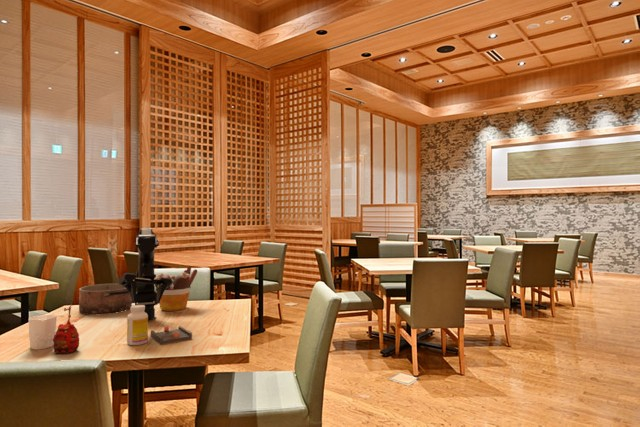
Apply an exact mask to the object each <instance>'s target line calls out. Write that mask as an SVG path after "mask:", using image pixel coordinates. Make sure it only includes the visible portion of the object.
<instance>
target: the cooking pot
mask: <svg viewBox="0 0 640 427" xmlns="http://www.w3.org/2000/svg"><path fill="white" fill-rule="evenodd" d="M78 290H79V291H78V292H79V293H78V295H79V296H78V310H79V311H78V312H79V313H80V314H83V315H91V316H92V315H95V316H97V315H96V314H100V315H109V313H111V314H117V313H116V312H118V313H122V312H121V311H123V312H126V311H128V309H129V310H130V307H131V306H133V301H132V298H131V296H130V293H129V291H128V289H127V288H125V287H123V286H122V285H119V283H100V284H90V285H84V286H82V287H80V288H79V289H78ZM125 310H126V311H125Z"/></svg>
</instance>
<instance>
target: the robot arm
mask: <svg viewBox="0 0 640 427" xmlns="http://www.w3.org/2000/svg"><path fill="white" fill-rule="evenodd" d="M135 237H136V239H135V241H136V242H135V248H136V249H137V252H138V267H137V268H136V272H135V273H130V272H125V273H124V274H122V275H121V276H120V277H119V279H118V284H119V285H122V286H123V287H125V288H127V289H128V291H129V293H130V296H131V298H132V303H134V305H145V310H144V312H145V313H147V314H148V322H149V321H153V320H155V319H157V317H156V316H155V315H156V314H155V313H156V312H155V311H156V309H155V306H157V305H158V304H159V302H160V300H161V297H162V295H163V293H164V291H165V289H166V288H168V287H169V286H171V285H172V280H173V279H171V278H166V277H162V278H161V279H159V280H156V279H155V277H156V276H157V274H155V268H157V265H156V264H155V252H156V249H157V248H158V247H159V246H160V245H159V244H160V243H159V240H158V238H157V234H155V233H154V232H153V228H151V227H142V228H140V231H139V232H138V233H137V234H136V235H135ZM155 285H156V286H155ZM156 287H157V288H156Z"/></svg>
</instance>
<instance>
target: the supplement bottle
mask: <svg viewBox="0 0 640 427" xmlns="http://www.w3.org/2000/svg"><path fill="white" fill-rule="evenodd" d="M129 310H130V313H128V315H127V318H126V320H127V321H126V322H127V323H126V327H127V329H126V343H127V345H130V346H141V345H144V344H146V343H148V339H149V329H148V328H149V327H148V326H149V325H148V324H149V321H148V314H147V313H145V312H144V310H145V305H135V304H134V305H132V306H131V307H130V309H129Z"/></svg>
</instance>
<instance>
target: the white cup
mask: <svg viewBox="0 0 640 427" xmlns="http://www.w3.org/2000/svg"><path fill="white" fill-rule="evenodd" d="M56 331H57V314H50V313H49V314H38V315H33V316H30V317H28V336H29V337H28V338H29V348H30V350H34V351H35V350H45V349H49V348H53V345H54V342H53V338H54V335H55V334H56Z"/></svg>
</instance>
